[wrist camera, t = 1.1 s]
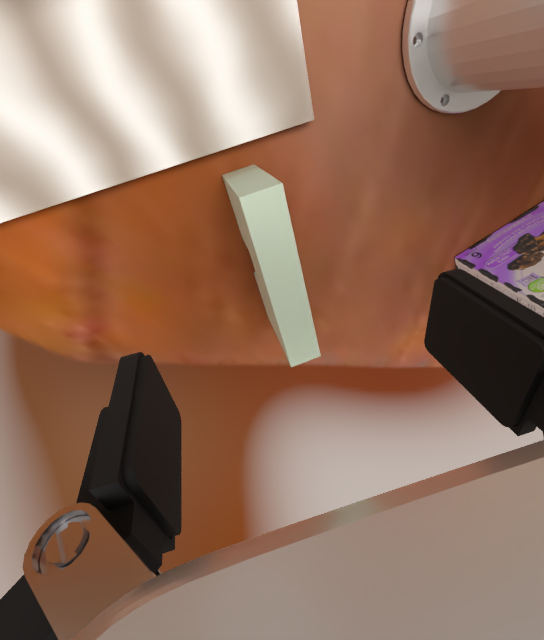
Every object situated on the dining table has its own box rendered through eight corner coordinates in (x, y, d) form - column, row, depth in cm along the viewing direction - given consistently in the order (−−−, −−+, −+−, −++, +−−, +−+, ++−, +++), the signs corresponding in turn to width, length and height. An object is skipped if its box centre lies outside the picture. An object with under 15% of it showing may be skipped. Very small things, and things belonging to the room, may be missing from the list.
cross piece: (221, 175, 28) (239, 197, 21) (254, 164, 28) (282, 183, 21) (268, 317, 37) (291, 367, 30) (291, 308, 37) (320, 356, 30)
